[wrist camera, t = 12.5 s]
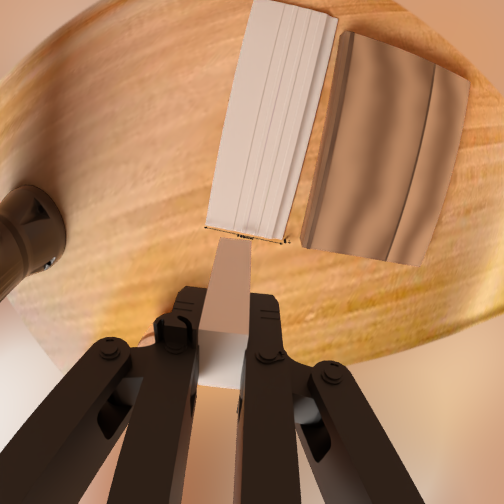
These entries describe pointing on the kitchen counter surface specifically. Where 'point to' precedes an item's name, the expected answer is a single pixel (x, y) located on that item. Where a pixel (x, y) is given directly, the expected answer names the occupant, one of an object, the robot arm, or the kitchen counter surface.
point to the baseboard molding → (269, 118)
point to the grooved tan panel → (384, 153)
